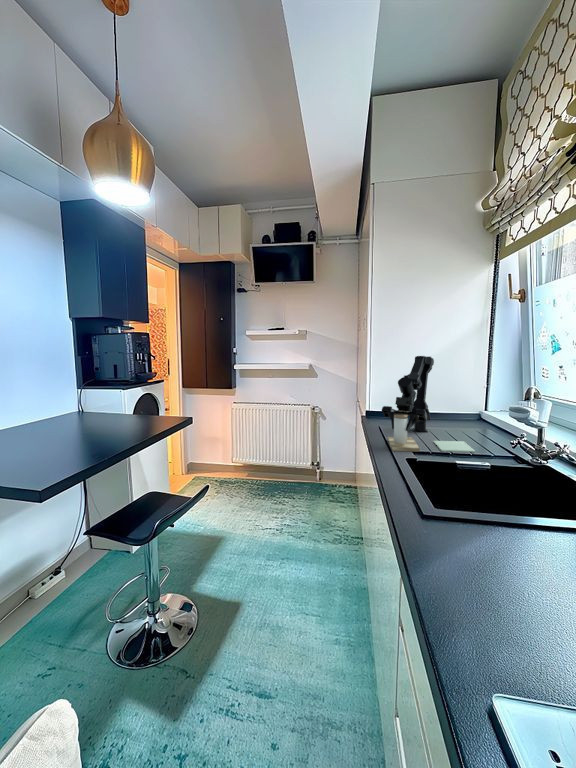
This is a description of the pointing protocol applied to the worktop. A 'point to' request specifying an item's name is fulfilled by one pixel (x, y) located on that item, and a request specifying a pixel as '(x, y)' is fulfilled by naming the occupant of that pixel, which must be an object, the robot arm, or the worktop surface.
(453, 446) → the mat
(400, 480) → the worktop surface
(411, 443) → the board
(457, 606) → the worktop surface
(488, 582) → the worktop surface
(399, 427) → the jar
